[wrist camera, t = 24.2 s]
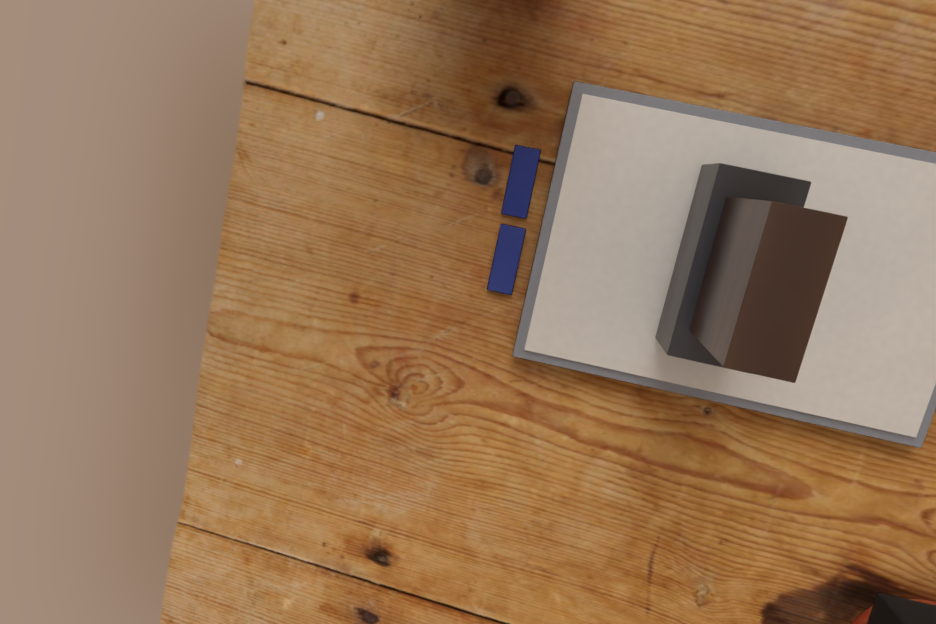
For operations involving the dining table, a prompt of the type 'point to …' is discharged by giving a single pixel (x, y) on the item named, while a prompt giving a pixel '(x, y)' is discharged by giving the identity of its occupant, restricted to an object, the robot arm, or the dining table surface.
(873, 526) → the dining table surface
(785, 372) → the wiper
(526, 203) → the blue flat block
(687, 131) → the whiteboard
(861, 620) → the fruit
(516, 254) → the smudge
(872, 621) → the robot arm
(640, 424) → the dining table surface
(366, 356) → the dining table surface
